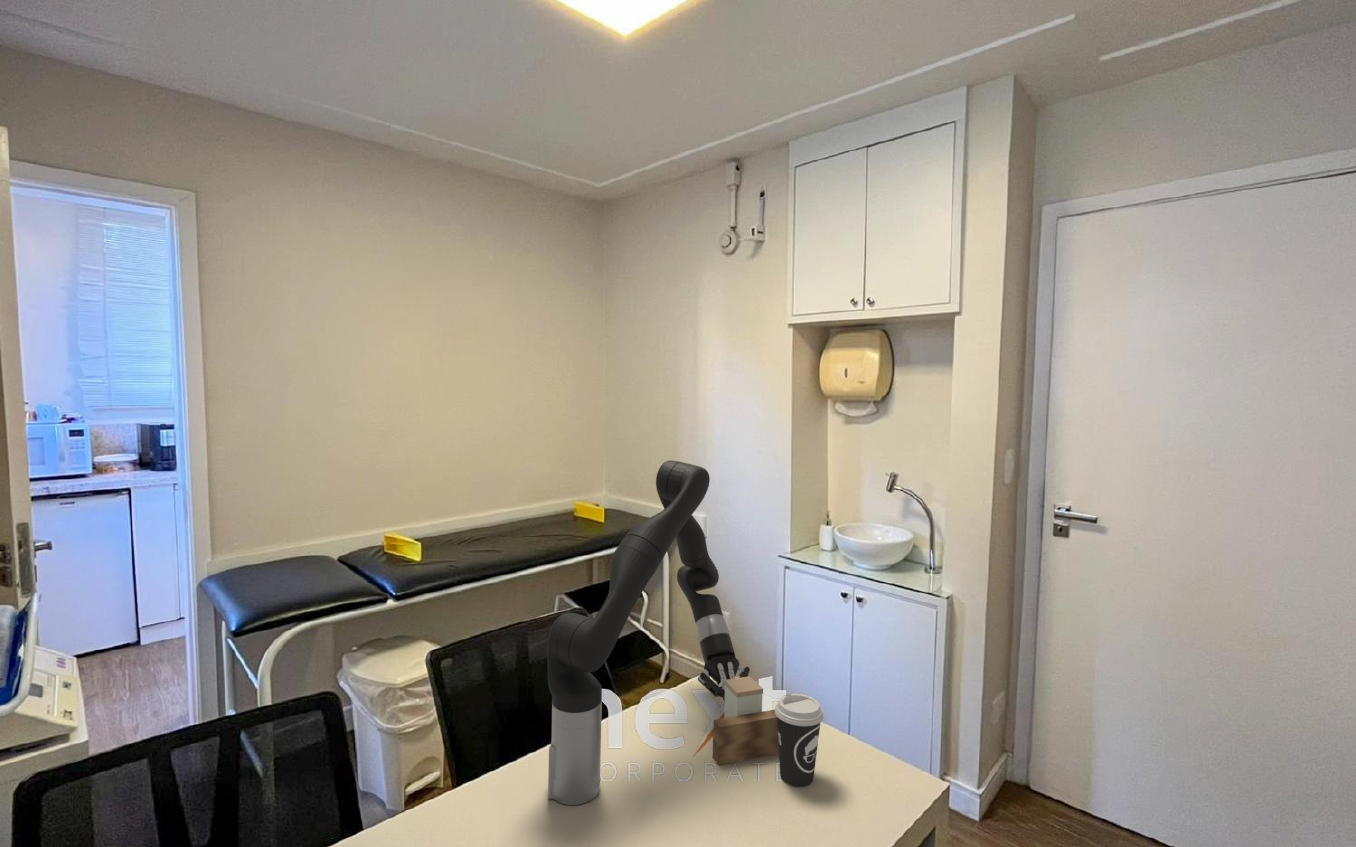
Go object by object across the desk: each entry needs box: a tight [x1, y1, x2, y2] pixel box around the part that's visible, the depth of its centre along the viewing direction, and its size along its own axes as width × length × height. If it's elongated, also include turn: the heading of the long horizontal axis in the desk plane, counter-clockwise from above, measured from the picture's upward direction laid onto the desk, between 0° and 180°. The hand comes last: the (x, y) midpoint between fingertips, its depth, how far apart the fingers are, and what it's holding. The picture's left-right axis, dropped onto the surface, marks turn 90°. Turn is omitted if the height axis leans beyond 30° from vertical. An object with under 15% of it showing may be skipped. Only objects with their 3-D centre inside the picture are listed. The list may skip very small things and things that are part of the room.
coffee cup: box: [774, 693, 825, 788], centre depth 124 cm, size 10×10×15 cm
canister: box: [723, 675, 764, 718], centre depth 136 cm, size 6×6×13 cm
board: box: [712, 709, 779, 766], centre depth 131 cm, size 16×3×8 cm, turn 110°
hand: (734, 713), depth 139 cm, fingers closed
